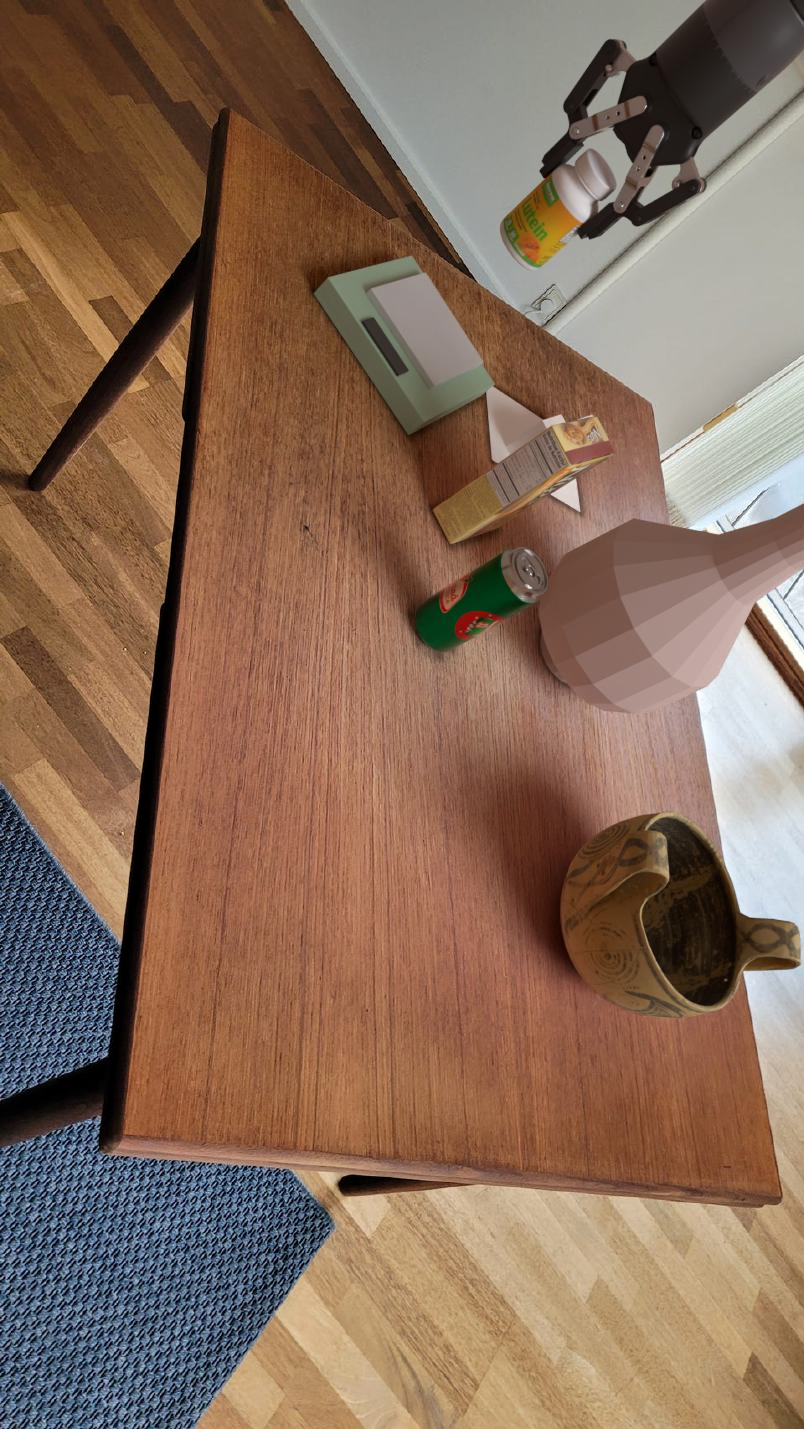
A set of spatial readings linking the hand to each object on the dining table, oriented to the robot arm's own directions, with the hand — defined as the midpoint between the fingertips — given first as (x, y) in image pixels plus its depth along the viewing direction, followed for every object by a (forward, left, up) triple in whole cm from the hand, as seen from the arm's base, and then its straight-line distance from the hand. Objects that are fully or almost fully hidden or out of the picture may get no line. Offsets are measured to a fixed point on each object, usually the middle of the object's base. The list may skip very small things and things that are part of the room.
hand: (563, 203), depth 80 cm
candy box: (+18, -9, -21) cm, 29 cm away
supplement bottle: (0, 0, -6) cm, 6 cm away
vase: (+35, -8, -21) cm, 42 cm away
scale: (0, -1, -21) cm, 21 cm away
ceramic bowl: (+54, -29, -21) cm, 65 cm away
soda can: (+24, -23, -21) cm, 39 cm away
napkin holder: (+16, +11, -21) cm, 29 cm away
